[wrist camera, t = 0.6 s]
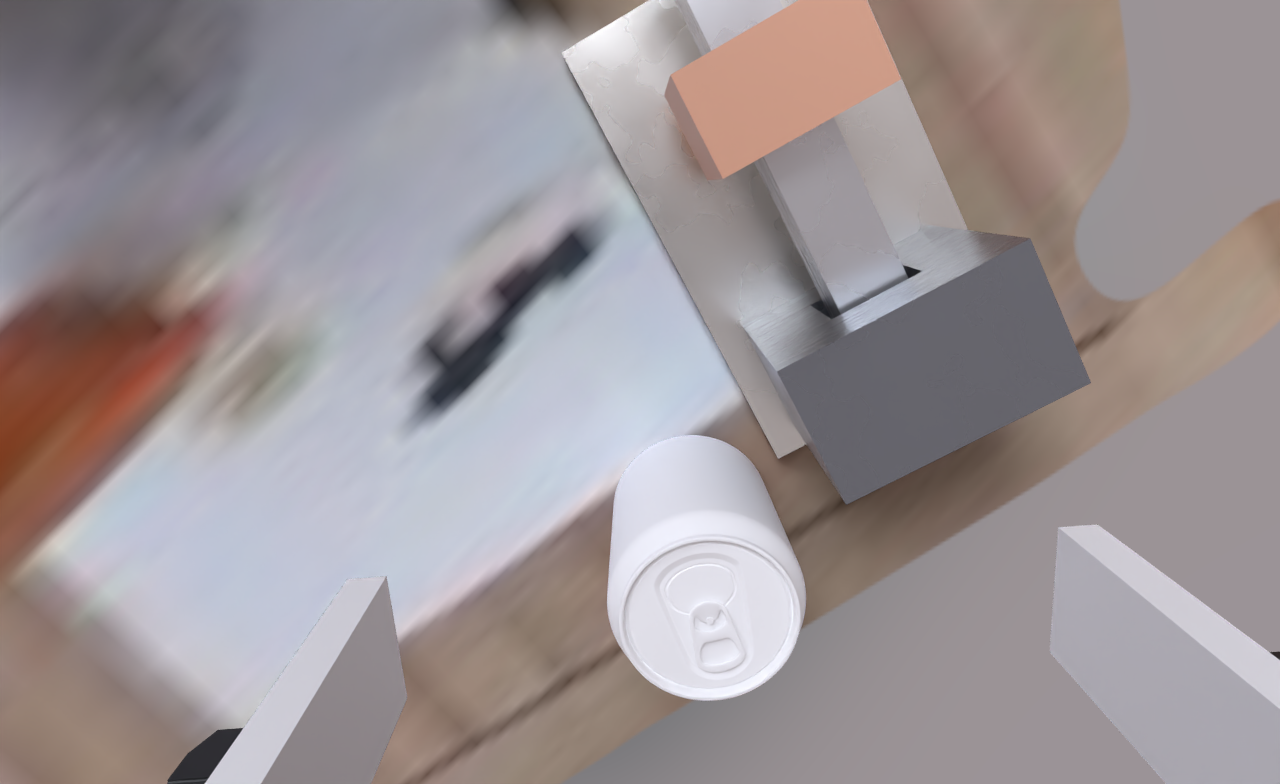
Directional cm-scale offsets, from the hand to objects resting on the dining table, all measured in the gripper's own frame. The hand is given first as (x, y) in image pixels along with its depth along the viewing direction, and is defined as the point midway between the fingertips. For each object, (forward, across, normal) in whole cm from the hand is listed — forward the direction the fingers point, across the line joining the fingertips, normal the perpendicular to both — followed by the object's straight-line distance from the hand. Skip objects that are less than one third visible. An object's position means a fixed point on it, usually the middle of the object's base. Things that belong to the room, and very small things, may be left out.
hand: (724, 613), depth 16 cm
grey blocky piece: (+26, +7, +7) cm, 28 cm away
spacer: (+22, +4, +11) cm, 25 cm away
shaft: (+21, +5, +10) cm, 24 cm away
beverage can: (+26, +1, -9) cm, 27 cm away
